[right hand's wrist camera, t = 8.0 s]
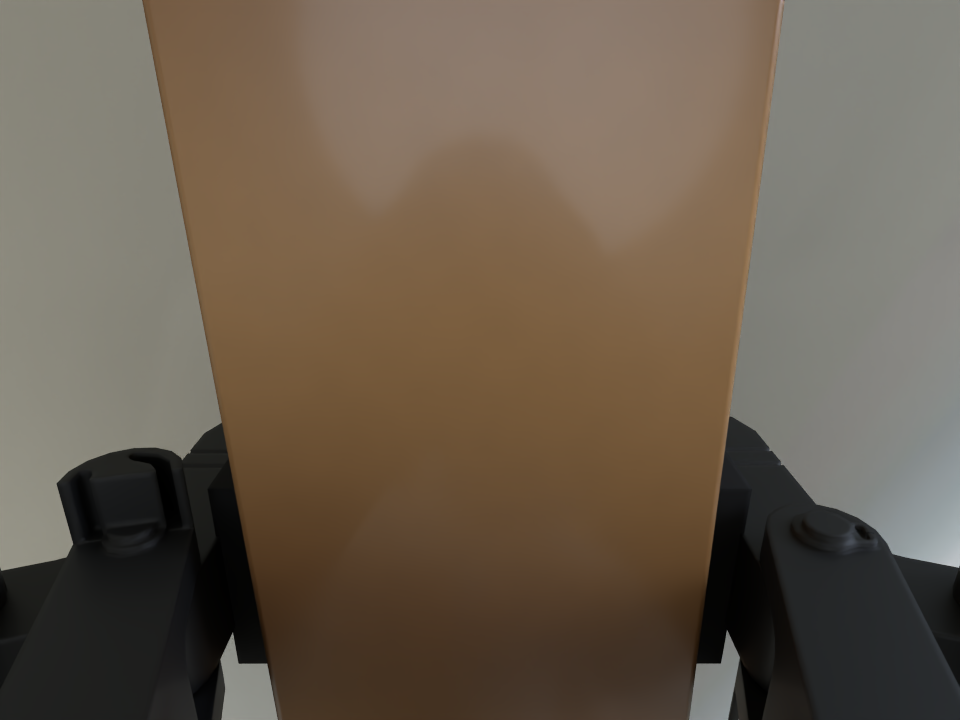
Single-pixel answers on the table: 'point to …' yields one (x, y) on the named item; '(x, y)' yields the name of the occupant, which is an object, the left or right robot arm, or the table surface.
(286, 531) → the bar
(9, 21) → the table surface
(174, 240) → the table surface
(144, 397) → the table surface
